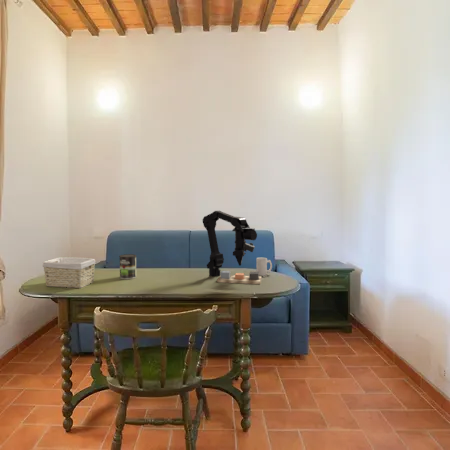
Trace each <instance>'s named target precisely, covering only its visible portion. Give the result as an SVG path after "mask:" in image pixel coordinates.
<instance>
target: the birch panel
mask: <svg viewBox="0 0 450 450" xmlns="http://www.w3.org/2000/svg"><path fill="white" fill-rule="evenodd" d="M262 277H263V276H259V280H249V279H250V275H244V279H235V274H234V275H232V274H230V279H223V278H221V275H220V276H218V278H217V280H216V283H225V284H226V283H227V284H229V283H230V284H246V285H247V284H249V285H252V284H253V285H261V283H262Z"/></svg>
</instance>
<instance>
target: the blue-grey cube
mask: <svg viewBox="0 0 450 450" xmlns="http://www.w3.org/2000/svg"><path fill="white" fill-rule="evenodd" d="M230 275H231V270H221V278H223V279H230Z"/></svg>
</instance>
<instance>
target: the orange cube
mask: <svg viewBox="0 0 450 450" xmlns="http://www.w3.org/2000/svg"><path fill="white" fill-rule="evenodd" d="M234 275H235V279H244V276H245V273H244V272H236V273H235V274H234Z"/></svg>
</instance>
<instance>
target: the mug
mask: <svg viewBox="0 0 450 450" xmlns="http://www.w3.org/2000/svg"><path fill="white" fill-rule="evenodd" d="M255 261H256V272H259V276H261V277H265V276H267V274H268V273H271V271H272V268H273V263H272V261H271V259H268V258H267V257H262V256H261V257H256V260H255ZM268 263H269V265H270V267H269V269H268Z"/></svg>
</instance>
